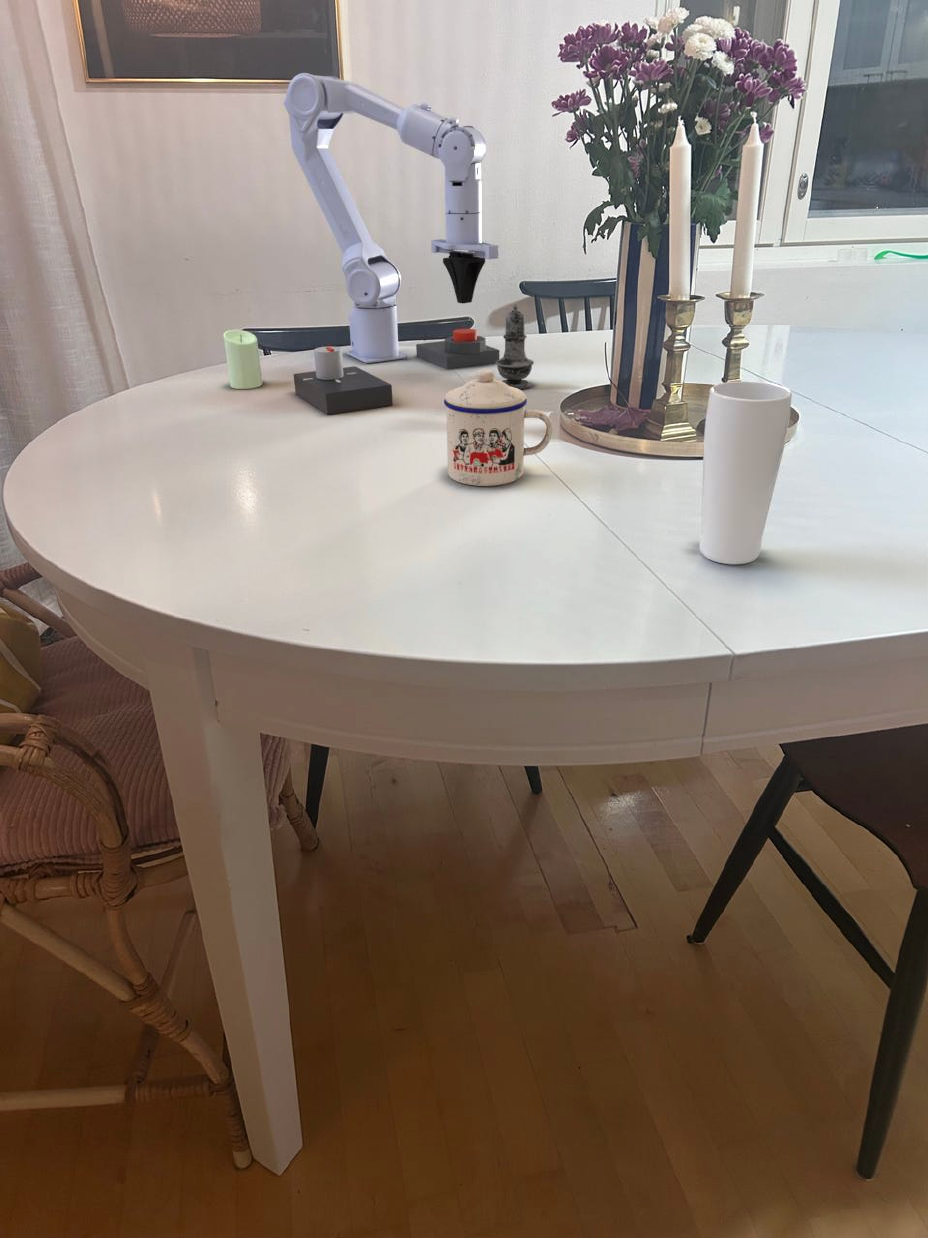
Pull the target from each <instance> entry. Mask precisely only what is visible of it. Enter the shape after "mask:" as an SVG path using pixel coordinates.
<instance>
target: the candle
mask: <svg viewBox="0 0 928 1238" xmlns="http://www.w3.org/2000/svg"><path fill="white" fill-rule="evenodd" d="M222 335H223V344H224V350H225V351H224V352H225V358H226V366H227V373H228V381H229V387H231V389H234V390H252V389H256V388H260V387H261V386H262V385H263V378H262V367H261V361H260V359H261V358H260V351H259V343H258V338H257V335H255V334H254V333H252V332H250V331H247V330H241V329H229V330H226V331H224V333H223V334H222Z"/></svg>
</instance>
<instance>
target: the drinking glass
mask: <svg viewBox="0 0 928 1238" xmlns="http://www.w3.org/2000/svg"><path fill="white" fill-rule="evenodd" d="M792 397H793V393H792V391H791V390H790V389H789V388H786V387H784V386H782V385H778V384H774V383H769V382H763V381H762V382H761V381H745V380H744V381H743V380H740V381H738V380H737V381H725V382H721V383H718V384H715V385H712V386H711V387H710V389H709V394H708V400H707V404H706V405H707V406H706V413H705V419H704V420H705V421H704V430H703V431H704V432H703V447H702V448H703V449H702V450H703V452H702V496H701V522H700V523H701V525H700V537H699V551H700V553H701V554H702V555H703V556H704V557H705V558H706V559H708V560H710V561H713V562H715V563H719V564H722V565H723V564H724V565H745V564H749V563H752V562H753V561H755V560H756V559H757V558H758V557H759V555H760V553H761V549H762V543H763V536H764V531H765V527H766V523H767V519H768V515H769V511H770V507H771V502H772V499H773V494H774V491H775V486H776V482H777V478H778V475H779V471H780V467H781V462H782V458H783V454H784V449H785V445H786V440H787V436H788V431H789V425H790V416H791V410H792V409H791V407H792V399H793V398H792Z"/></svg>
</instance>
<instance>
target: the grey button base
mask: <svg viewBox="0 0 928 1238" xmlns="http://www.w3.org/2000/svg"><path fill="white" fill-rule="evenodd" d="M486 339H487V338H486V337H484V336H481V335H477V341H471V342H458V341H453V335H451V336H448V337H445V338H444V340H440V341H431V342H423V343H416V344H415V346H416V347H415V349H416V357H417V358H419V359H421V360H423V361H426V362H428V363H431V364H433V365H435V366H437V367H440V368H442V369H444V370H457V369H462V368H463V369H464V368H473V367H479V366H486V365H494V364H496V361H497V360H500V349H498V348H495V347H492V346H489V345H487V340H486Z"/></svg>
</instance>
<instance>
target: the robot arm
mask: <svg viewBox="0 0 928 1238" xmlns="http://www.w3.org/2000/svg"><path fill="white" fill-rule="evenodd" d="M283 105H284V108H285V110H286V111H287V114H288V119H289V131H290V132H289V133H290V143H291V149H292V152H293V154H294V157H295V159H296V161H297V162H298V164H299V167H300V169H301V170H302V172H303V174H304V177H305V179H306V182H307V183H308V185H309V187H310V189H311V191H312V193H313V195H314V197H315V199H316V202H317V203H318V205H319V207H320V209H321V211H322V213H323V216H324V217H325V220H326V222H327V224H328V226H329V228H330V230H331V232H332V235H333V236H334V238H335V240H336V242H337V244H338V246H339V248H340V250H341V253H342V254H343V257H342V262H341V270H342V272H343V275H344V277H345V285H346V286H345V287H346V291H347V294H348V296H349V298H350V299H351V300H352V301H353V305H354V306H353V307H352V309H351V310H350V312H349V316H348V323H349V337H350V338H349V339H350V350H347V351H345V353H346V354H347V355H348V356H350V357H352V358H354V359H356V360H358V361H360V362H363V363H365V364H373V363H379V362H389V361H395V360H403V359H408V355H407V354H406V353H402V352H400V351H399V333H398V332H399V331H398V330H399V329H398V328H399V327H398V311H397V308H398V307H397V299H396V295H397V293H399V291H400V289H401V287H402V276H401V273H400V270H399V268H398V267H397V265H396V264H394V263H393V262H392V261H391V260H390V259H389V258H388V256H387V255H386V252H385V250H384V249H383V248H381V246H379V245H378V244H377V243H376V242H374V240H373V239H372V237H371V235H370V233H369V231H368V229H367V226H366V225H365V222H364V220H363V218H362V215H361V214H360V212H359V210H358V208H357V206H356V203H355V201H354V199H353V197H352V195H351V192H350V191H349V189H348V187H347V185H346V183H345V180H344V178H343V176H342V174H341V172H340V170H339V168H338V166H337V163H336V162H335V160H334V157H333V155H332V153H331V151H330V149H329V145H330V143H331V139H332V136H333V133H334V131H335V130H336V128H337V127H338V125H339V124H340V122H341V121H342V119H343V118H344V116H345V114H349V115H350V114H355V113H356V114H358V115H361V116H362V117H365V118H368V119H370V120H372V121H374V122H377V123H379V124H381V125H385V126H386V127H389V128H392V129H394V130H396V131H397V133H398V136H399V138H400V140H401V142H402V143H403V144H405V145H407V146H410V147H411V148H414V149H416V150H418V151H420V152H421V153H422V152H423V153H424V154H425V155H426V154H427V155H428V156H431V157H432V158H435V159H437V160H440V161H441V163H442V165H443V166H444V203H445V205H444V207H445V209H444V211H445V239H441V238H440V239H439V238H438V239H431V240H430V249H431V250H430V251H431V252H430V253H433V254H448V257H443V258H442V264H443V265H444V267H445V268H446V270H447V273H448V275H449V277H450V280H451V283H452V286H453V290H454V294H455V299H456V302H457V303H458V304H463V305H464V304H468V303H469V304H470V303H472V302H473V298H474V293H475V288H476V284H477V282H478V279H479V276H480V273H481V271H482V269H483V267H484V266H485V264H486V260H496V259H499V248H500V246H499V245H498V244H493V243H489V242H483V241H482V240H483V239H482V238H483V237H482V161H483V160H484V158H485V155H486V151H487V145H486V140H485V138H484V135H483V134H482V133H481V132H480V131H479V130H477V129H476V128H475V127H474V126H473V125H463V126H459V119H458V118H456V117H453V116H451V117H450V118H448V117H446V116H444V115H441V114H439V113H437V112H435V111H432V105H430V104H428V103H426V102H421V103H420V104H417V103H414V104H411V105H409V106H408V107H406V108H404V107H402V106H401V105H399V104H396V103H395V102H393V101H391V100H390V99H387V98H385V97H383V96H381V95H379V94H377V93H375V92H373V91H372V90H369V89H368V88H366V87H364V86H362V85H360V84H357V83H355V82H352V81H349V80H345V79H340V78H339V77H336V76H334V75H316V74H311V73H307V72H301V73H298V74H297V75H295V76H294V77H293V78H292V79H291V81H290V82H289V84H288V87H287V90H286V94H285V98H284V101H283Z"/></svg>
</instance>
